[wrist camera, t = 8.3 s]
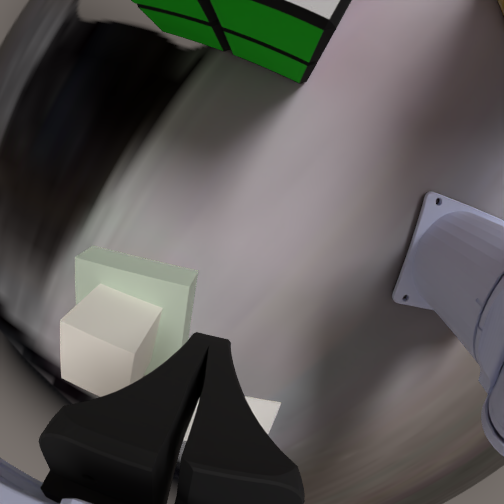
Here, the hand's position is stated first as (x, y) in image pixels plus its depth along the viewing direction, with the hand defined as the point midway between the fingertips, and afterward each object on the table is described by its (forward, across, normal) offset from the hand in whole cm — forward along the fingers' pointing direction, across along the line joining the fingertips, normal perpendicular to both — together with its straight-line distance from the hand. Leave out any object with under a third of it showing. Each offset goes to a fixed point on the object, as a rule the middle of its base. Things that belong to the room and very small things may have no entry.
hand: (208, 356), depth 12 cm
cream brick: (+7, +6, +5) cm, 11 cm away
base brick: (+10, +6, +5) cm, 13 cm away
